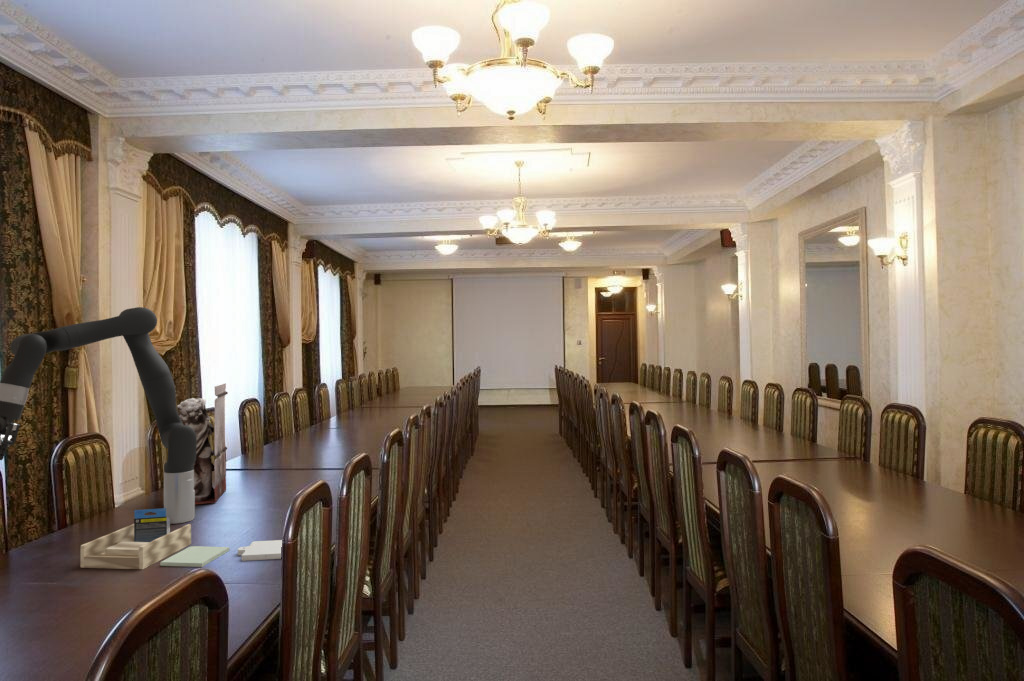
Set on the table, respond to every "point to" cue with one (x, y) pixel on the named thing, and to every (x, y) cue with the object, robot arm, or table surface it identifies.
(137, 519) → the label tape cartridge
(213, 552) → the pad
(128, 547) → the offcut stack
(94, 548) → the wooden tray
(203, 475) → the cherub statue
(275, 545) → the mounting plate
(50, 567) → the table surface
